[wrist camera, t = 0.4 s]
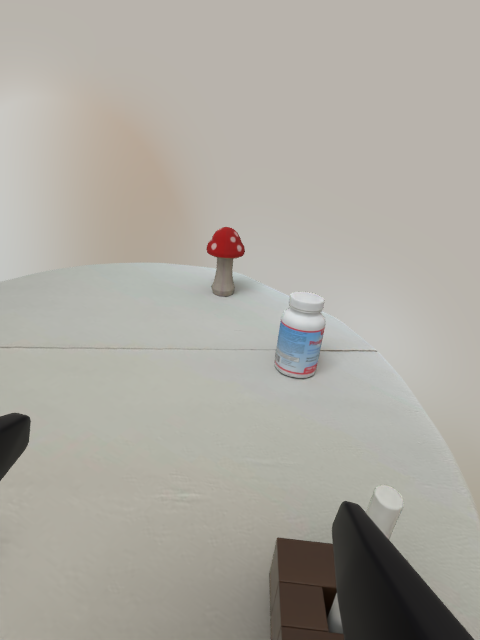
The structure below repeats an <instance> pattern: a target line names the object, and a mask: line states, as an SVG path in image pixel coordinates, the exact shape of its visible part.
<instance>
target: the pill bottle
mask: <svg viewBox="0 0 480 640" xmlns="http://www.w3.org/2000/svg"><path fill="white" fill-rule="evenodd" d="M289 306H290V308H288V309H286V310H285V311H284V312H283V314H282V317H281V323H280V330H279V336H278V342H277V349H276V355H275V367H276V368H277V370H278V371H279V372H281V373H282V374H284V375H287V376H290V377H295V378H307V377H310V376H312V375H313V374H314V373H315V371H316V367H317V362H318V358H319V353H320V348H321V343H322V338H323V333H324V329H325V318H324V316H323V315H322V314H321V313H320V312H321V311H322V309H323V308H324V307H323V306H324V298H323V297H321V296H320V295H317V294H313V293H308V292H294V293H292V294H291V295H290V299H289Z"/></svg>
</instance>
